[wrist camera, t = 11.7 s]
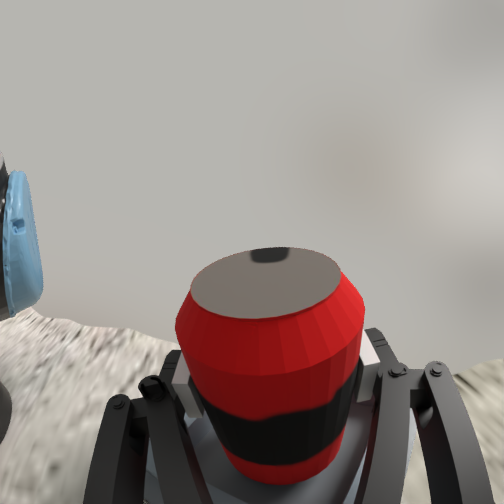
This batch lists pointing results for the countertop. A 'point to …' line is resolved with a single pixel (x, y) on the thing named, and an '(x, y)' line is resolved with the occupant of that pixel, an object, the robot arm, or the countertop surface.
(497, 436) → the countertop surface
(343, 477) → the dock
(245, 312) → the soda can
